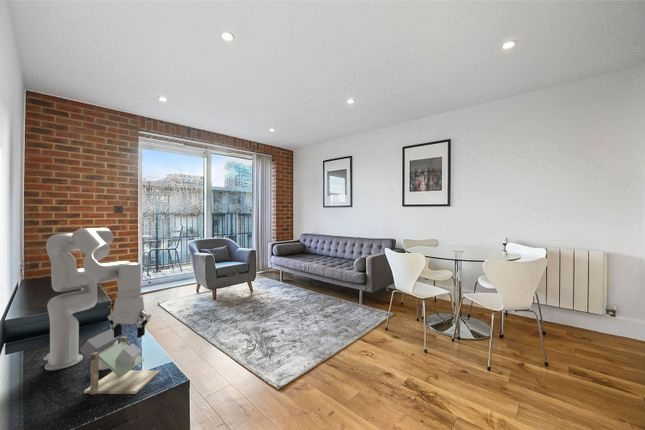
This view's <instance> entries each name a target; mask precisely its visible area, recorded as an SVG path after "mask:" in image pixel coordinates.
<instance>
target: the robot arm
mask: <svg viewBox="0 0 645 430" xmlns="http://www.w3.org/2000/svg"><path fill="white" fill-rule="evenodd" d="M113 241H114V234H113V232H112V231H111V229H109V228H107V227H83V228H79V229H76V230H75V231H73V232H69V233H68V232H66V233H57V234H53V235H51V236H49V237H48V239H47V241H46V246H45V249H46V253H47V255H48V257H49V260H50V271H51V272H50V273H51V274H50V277H51V280H50V281H51V288H52V289H53V291H54V292H66V293H63V294H59V295H55V296H54V297H52V298H50V299H49V300H48V302H47V304H46V307H47V308H46V309H47V312H48V316H49V353H47V354H46V356H44V357H43V361H47V363H46V364H44V370H46V371H58V370H63V369H65V368H69V367H72V366H74V365H76V364H78V363H80V362H82V360H83V358H84V356H83V355H84V354H82V353H81V354H80V353H79V345H80V344H79V342H80V341H79V339H80V338H79V336H80V335H79V333H80V332H79V329H80V326H79V325H80V323H79V320H78V319H77V318H76V317H75V316H74V315H73V314H74V313H78V312H83V311H86V310H89V309H90V310H91V309H92V308H93V307H95V306H96V305H97V302H98V284H103V283H108V282H113V281H117V291H115V294H116V295H117V297H115V300H114V305H113V312H112V313H111V314H109V315H108V316H107V319H108V321H109V324H110V325H111V327H112V328H113V331H114V338H116V337H118V336H120V337H121V335H123V334H122V332H123V331H122V330H123V329H122V328H123V326H122V325H132V324H133V325H134V324H136V325H137V326H138V327H137V328H136V331H137V336H136V337H137V339H139V338H142V337H143V336H145V333H146V325H148V323H149V322H150V319H151V317H152V314H150V313H148V312H146V311H145V303H144V299H143V295H142V294H141V293H142V290H141V289H142V284H141V283H142V274H141V273H142V272H141V271H142V269H141V268H142V266H141V263H140V262H133V261H132V262H131V261H128V260H121V261H120V260H119V261H112V262H105V263H99V261H100V260H102V259H104V258H106V257H107V256H108V255H109V253H110V252H111V247H110V245H111V244H112V243H113ZM80 251H81V253H83V255H85V256H84V258H83V262H82V267H81V268H80V267H79V268H78V267H77V258H76V257H75V255H73V254H72V253H71V252H80ZM79 289H80V290H79ZM72 290H79V291H72ZM67 291H72V292H69V293H68V292H67Z"/></svg>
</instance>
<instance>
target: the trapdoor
mask: <svg viewBox="0 0 645 430" xmlns="http://www.w3.org/2000/svg"><path fill="white" fill-rule="evenodd" d="M119 338H121V335H120V336H118V337H116V338H114V329H112V328H110V329H108V330H106V331H104V332H102V333H100V334H97V335H95V336H93V337H91V338H89V339H87V340H86V341H85V342H84V344H83V345H82V346H81V347H80V348H79V349H78V352H80V353H81V354H82V355H84V356H85V357H86V358H87V359H88V360H89V358H90V357H91V353H93V352H99V353H100V352H102V351H104V350H106V349H107V348H109V347H111V346H113V344H114V343H115V342H116V341H118V340H119ZM128 346H129V344H128V343H127V344H126V343H125V342H124V341H123V342H121V341H120V343H119V342H118V344H117V345H116V346H114V347H112V348H110V349H109V350H107V351H105V352H103V353H101V354H100V355H99V360H100V361H102V362H103V363H104V364H105V365H106V366H107V367H108V369H110V370H111V371H112V372H114V373H115V374H116V375H118V376H119V377H120V378H121V377H122V376H123V375H125V374H126V373H127V372H129V371H130V370H134V368H136V367H137V366H138V365H140V364H141V363H143V362H144V361H145V358H143V357H142V356H141V354H139V356H138V357H137V358H136V359H135V361H133V362H132V363H130V364H129V365H127V366H126V367H124V366H123V365H122V364H121V363H120V362H119V361H117V360H116V358H117V357H118V355H119V354H120V353H121V351H122V350H123V349H124V348H126V347H128Z"/></svg>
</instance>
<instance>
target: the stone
mask: <svg viewBox="0 0 645 430" xmlns="http://www.w3.org/2000/svg"><path fill="white" fill-rule="evenodd" d="M141 354H142V350H141V349H140V348H139V347H138V346H137V345H136V344H135V343H131V344H128V347H126V348H124V349H123V350H122V351H121V353H120V354H119V355H118V357H117V358H116V360H117V361H119V362H120V363H121V364H122V365H123V366H124V367H126V366H127V365H129V364H130V363H132V362H133V361H135V359H136V358H137V357H138V356H139V355H141Z"/></svg>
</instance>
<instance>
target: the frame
mask: <svg viewBox="0 0 645 430" xmlns="http://www.w3.org/2000/svg"><path fill="white" fill-rule="evenodd" d="M123 341H124V342H125V343H126V344H127V345H128V341H129V338H128V336H120V343H121V342H123ZM88 360H89V361H90V383H89V384H90V386H89V387H88V388H86V389H85V390H83V392H84V393H83V394H89V395H97V394H108V395H109V394H110V395H113V394H114V395H116V394H119V395H136V394H138V392H140V391H141V390H142V389H143V388H144V387H145V386H146V385H148V384H149V383H150V382H151V381H153V379H155V378H156V377H157V376H158V375H159V374H160V373H161V370H160V369H159V370H157V369H156V370H151V369H149V370H147V369H143V370H139V369H138V370H137V369H136V370H135V369H132V370H130V371H129V372H127V373H126V374H125V375H123V376H122V377H121V378H120V377H119V376H118V375H116V374H115V373H114V372H113V371H112V372H109V373H108V374H107V375H106V376H104V377H102V378H101V379H99V372H100V370H99V352H93V353H91V357H90V358H89V359H88Z"/></svg>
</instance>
